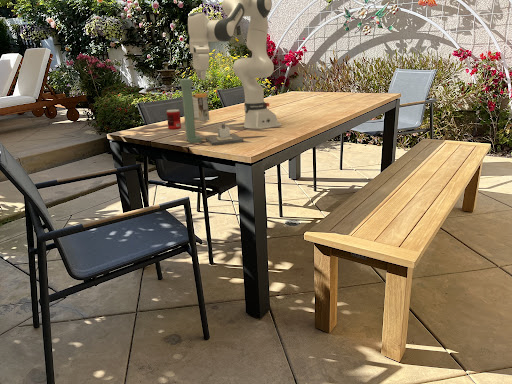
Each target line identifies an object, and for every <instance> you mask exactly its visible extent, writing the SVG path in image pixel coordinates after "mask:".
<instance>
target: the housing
mask: <svg viewBox="0 0 512 384" xmlns="http://www.w3.org/2000/svg"><path fill="white" fill-rule="evenodd" d="M230 135H231V128H229V127H228V126H226V124H225V123H221V127H217V136H218V138H220V139H228V138H230Z"/></svg>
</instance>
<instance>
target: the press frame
mask: <svg viewBox="0 0 512 384" xmlns="http://www.w3.org/2000/svg"><path fill="white" fill-rule="evenodd" d="M192 80H193V79H191V78H182V79H181V78H180V79H179V86H180V87H181V97H182V107H183V117H184V127H185V128H184V129H185V137H186V140H187V142H188V143H189V144H193V143H202V137H201V136H200V135H196V127H195V126H196V124H195V123H196V122H195V121H194V112H193V101H192V96H193V91H192V86H193V81H192Z"/></svg>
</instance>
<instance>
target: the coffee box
mask: <svg viewBox="0 0 512 384" xmlns="http://www.w3.org/2000/svg"><path fill="white" fill-rule="evenodd" d="M192 97H195V95H192ZM208 100H209V99H208V96H207V97H203V98H198V108H199V118H194V122H195V121H199V122H207V121H209V120H210V112H209V111H210V109H209V101H208Z"/></svg>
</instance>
